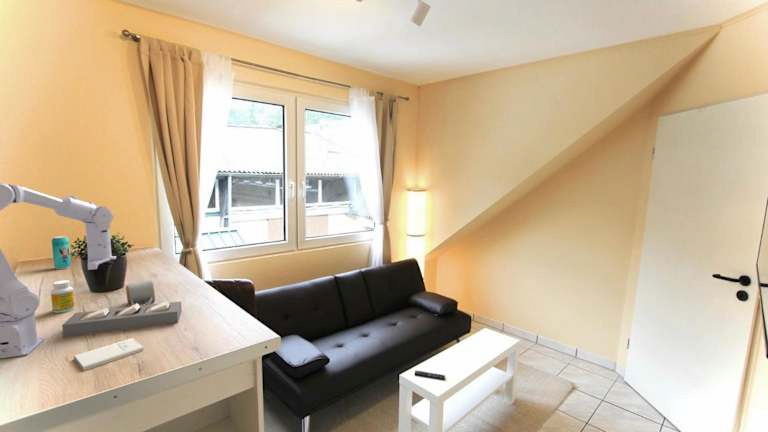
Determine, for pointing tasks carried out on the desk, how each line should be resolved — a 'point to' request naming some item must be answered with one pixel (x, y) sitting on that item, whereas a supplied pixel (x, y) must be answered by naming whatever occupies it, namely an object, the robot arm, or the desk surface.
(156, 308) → the rocker
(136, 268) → the desk surface
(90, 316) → the rocker
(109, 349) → the external hard drive
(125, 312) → the rocker
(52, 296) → the supplement bottle
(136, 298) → the ceramic mug
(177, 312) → the rocker switch panel
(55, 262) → the beverage can
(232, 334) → the desk surface
